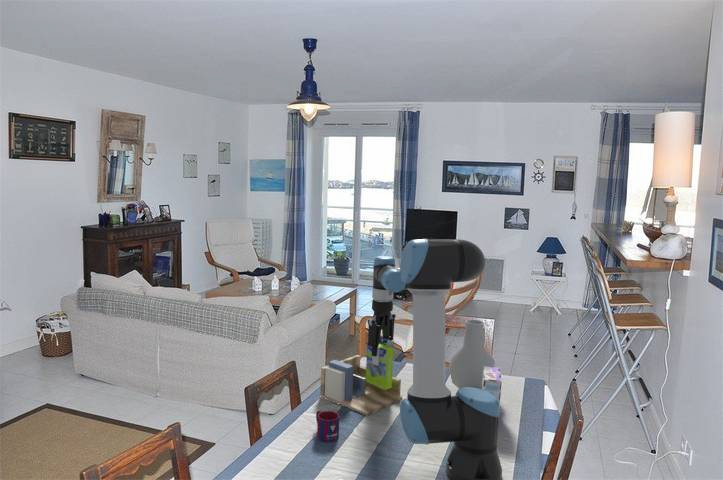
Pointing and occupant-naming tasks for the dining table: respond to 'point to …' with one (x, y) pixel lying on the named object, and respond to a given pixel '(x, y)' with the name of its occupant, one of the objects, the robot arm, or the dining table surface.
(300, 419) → the dining table surface
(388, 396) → the shelf
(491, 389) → the candy box
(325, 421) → the mug
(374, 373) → the box
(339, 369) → the shelved books
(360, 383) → the bookend
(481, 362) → the vase
